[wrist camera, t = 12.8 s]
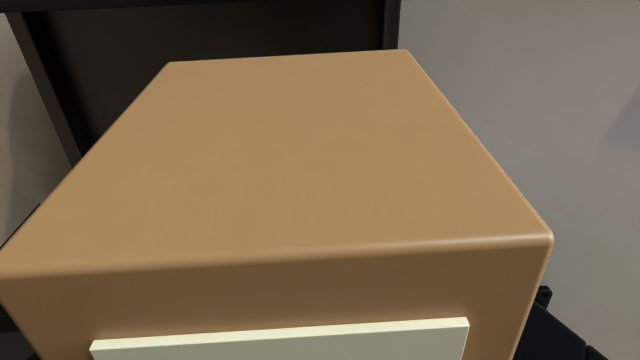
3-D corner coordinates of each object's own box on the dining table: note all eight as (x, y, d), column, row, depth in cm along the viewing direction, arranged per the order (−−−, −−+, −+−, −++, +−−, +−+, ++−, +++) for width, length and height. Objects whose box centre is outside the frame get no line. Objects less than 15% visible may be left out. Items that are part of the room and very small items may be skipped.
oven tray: (407, -246, 12) (448, -305, 9) (379, 222, 22) (393, 276, 19) (-68, -230, 12) (-209, -285, 9) (120, 236, 22) (88, 293, 19)
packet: (408, 47, 7) (572, 246, 3) (389, 291, 11) (451, 548, 6) (165, 60, 7) (-39, 283, 3) (227, 301, 11) (177, 566, 6)
